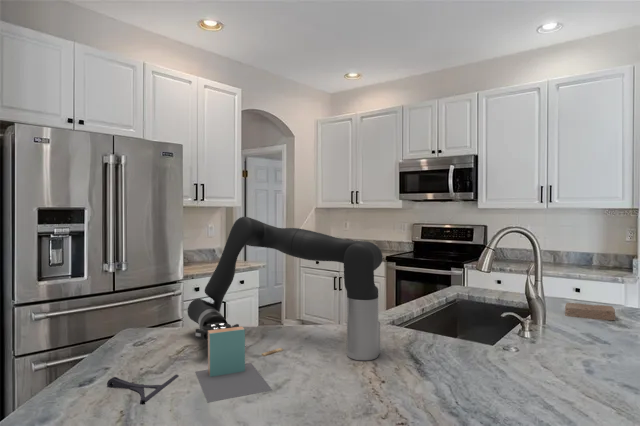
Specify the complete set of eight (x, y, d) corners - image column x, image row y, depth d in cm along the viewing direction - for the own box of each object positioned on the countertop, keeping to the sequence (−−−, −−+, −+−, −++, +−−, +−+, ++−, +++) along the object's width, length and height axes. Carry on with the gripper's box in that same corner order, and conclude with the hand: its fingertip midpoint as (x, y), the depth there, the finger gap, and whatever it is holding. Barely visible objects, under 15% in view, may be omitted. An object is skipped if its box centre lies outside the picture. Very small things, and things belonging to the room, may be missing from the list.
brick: (565, 316, 168) (565, 305, 168) (564, 312, 176) (565, 300, 175) (615, 322, 160) (616, 310, 160) (613, 317, 168) (613, 305, 167)
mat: (251, 364, 117) (251, 362, 117) (272, 392, 100) (272, 390, 100) (195, 373, 111) (195, 371, 111) (207, 405, 93) (207, 402, 93)
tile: (242, 367, 114) (242, 326, 114) (244, 371, 111) (244, 329, 111) (208, 372, 110) (207, 330, 110) (210, 376, 107) (209, 333, 107)
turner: (278, 350, 129) (278, 347, 129) (285, 353, 126) (285, 349, 126) (242, 361, 119) (242, 358, 119) (248, 364, 117) (248, 361, 117)
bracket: (127, 376, 111) (127, 366, 111) (179, 381, 108) (179, 370, 108) (87, 402, 96) (87, 390, 96) (146, 407, 94) (146, 395, 94)
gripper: (189, 313, 127) (198, 329, 111) (233, 309, 132) (248, 323, 116) (190, 338, 127) (198, 357, 111) (233, 333, 132) (248, 350, 116)
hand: (223, 340), depth 114 cm, fingers closed
